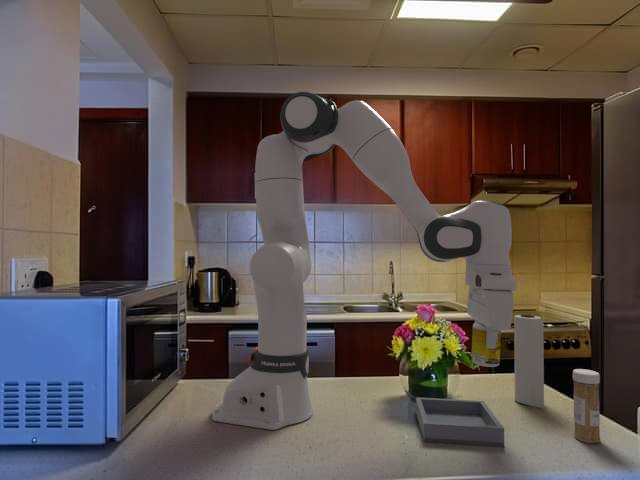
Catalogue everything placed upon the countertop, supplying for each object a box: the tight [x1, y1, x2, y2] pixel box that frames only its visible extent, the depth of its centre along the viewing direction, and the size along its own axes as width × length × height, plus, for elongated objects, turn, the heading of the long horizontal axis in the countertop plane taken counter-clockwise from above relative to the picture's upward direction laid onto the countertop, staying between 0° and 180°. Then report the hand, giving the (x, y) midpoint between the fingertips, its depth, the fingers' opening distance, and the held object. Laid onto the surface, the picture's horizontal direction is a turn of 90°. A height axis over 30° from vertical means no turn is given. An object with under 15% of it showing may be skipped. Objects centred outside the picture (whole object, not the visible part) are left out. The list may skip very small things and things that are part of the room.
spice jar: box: [572, 368, 601, 444], centre depth 83 cm, size 5×5×13 cm
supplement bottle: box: [470, 315, 502, 368], centre depth 87 cm, size 6×6×10 cm
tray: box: [415, 396, 505, 448], centre depth 88 cm, size 15×15×4 cm
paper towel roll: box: [513, 314, 545, 409], centre depth 104 cm, size 7×6×21 cm
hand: (485, 344), depth 87 cm, fingers closed on supplement bottle, 6 cm apart
